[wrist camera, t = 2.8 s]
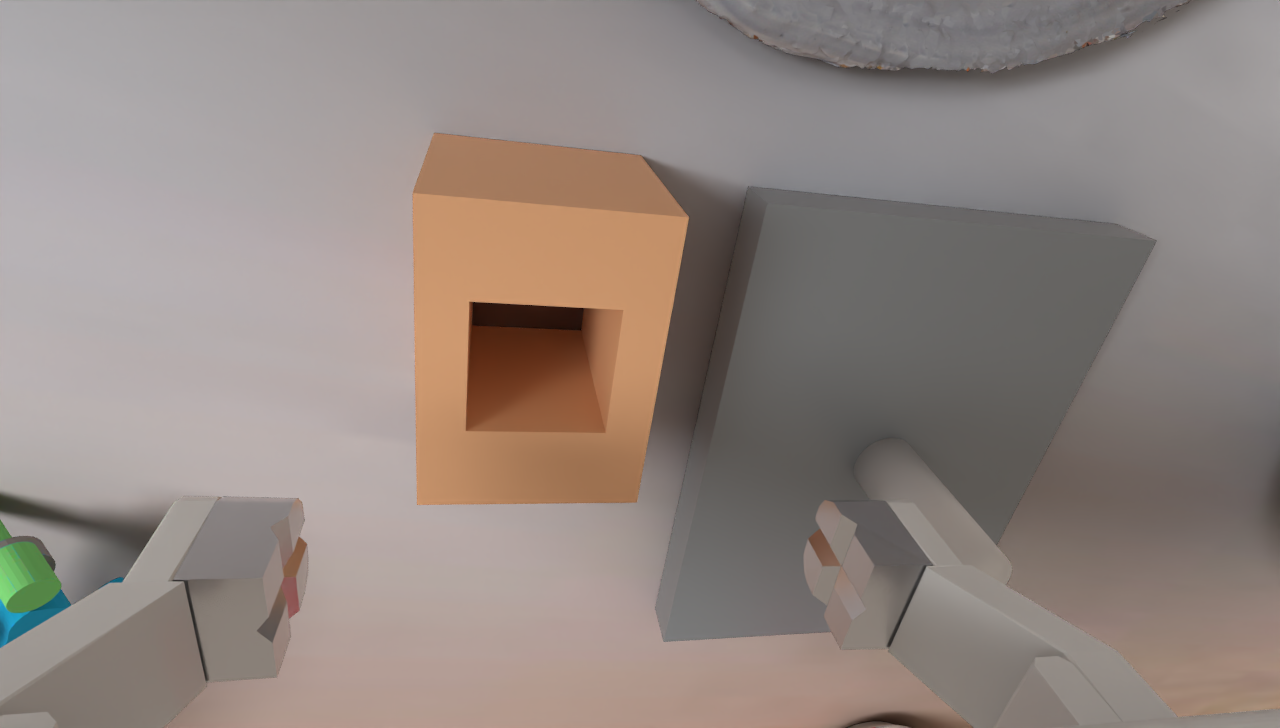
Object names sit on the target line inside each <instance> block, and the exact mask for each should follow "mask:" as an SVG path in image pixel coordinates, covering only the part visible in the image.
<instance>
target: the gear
mask: <svg viewBox="0 0 1280 728" xmlns="http://www.w3.org/2000/svg"><path fill="white" fill-rule="evenodd" d="M54 570H55V561H54V559H53V558H52V556H51V555H50V553H49V552H48V550H47V549H46V547H45V546H44V544H43V543H42V541H41V540H39V539H38V538H35V537H31V536H19V537H11V535H10V534H9V532H8V531H7V529H6V528H5V526H4V525H3V523H2V522H1V520H0V648H1V647H3V646H4V645H6V644H8V643H9V642H11V641H13V640H14V639H16V638H18V637H20V636H21V635H23V634H25V633H26V632H28V631H30V630H31V629H33V628H35V627H36V626H38V625H40V624H41V623H43V622H45V621H46V620H48V619H50V618H51V617H53V616H55V615H56V614H58V613H60V612H61V611H63V610H65V609H66V608H68V607H70V606H71V604H70V602H69V601H68V599H67V598H66V596H65V595H64V593H63V592H62V590H61V583H60V581H59V579H58V578H57V576H56V575H55V573H54ZM123 580H124V578H122V577H119V578H117V579H114V580H112V581H110V582H108V583H122V582H123ZM108 583H106V584H105V585H107V584H108ZM105 585H103V586H105ZM103 586H102V587H103ZM102 587H100V588H102ZM100 588H99V589H100Z"/></svg>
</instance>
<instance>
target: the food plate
mask: <svg viewBox="0 0 1280 728" xmlns="http://www.w3.org/2000/svg"><path fill="white" fill-rule="evenodd" d="M696 1H698V2H699V4H700V5H701V6H702V7H704V8H705V9H707V10H708V11H709V12H711V13H713V14H715V15H717V16H719V18H720V19H722V18H723V19H726V20H727V21H728V22H729V23H730V24H731V25H732V26H733V27H735V28H736V29H739V30H740V31H741V32H742V33H744V34H745V35H746V36H748V37H749V38H751V39H759V41H764V42H763V43H764V44H766V45H768V46H771V47H773V48H774V49H781V50H782V51H783V52H785V53H789V54H792V55H800V56H805V57H810V58H817V59H820V60H822V61H824V62H827V63H829V64H831V65H834V66H836V67H839V66H841V67H843V68H845V67H846V68H849V67H854V66H857V65H858V66H859V67H860V68H862V69H863V68H864V67H865V66H866V67H867V68H868V70H869V69H871V68H872V69H875V68H876V67H877V68H878V69H880V70H881V69H888V70H900V69H902V68H904V67H907V68H910V69H913V68H922V67H923V68H926V69H929V68H930V67H932V70H933V69H934V68H936V69H937V71H938V70H941V69H944V70H957V71H960V70H961V69H964V70H966V71H969V70H970V69H972V68H973V69H974V70H975V69H976V68H980V69H982V70H981V72H985V71H990V73H991V74H992V73H995V72H997V71H998V70H1000V69H1004V68H1005V67H1007V68H1008V70H1010V69H1012V68H1014V67H1016V66H1018V67H1020V65H1021V63H1023V65H1026V64H1037V63H1039V62H1041V61H1044V60H1046V59H1050V58H1054V57H1057V56H1062V55H1064V54H1066V53H1068V54H1069V53H1073V52H1074V51H1075V50H1079V49H1080V48H1084V47H1085V46H1089V45H1092V44H1097V43H1103V42H1102V41H1104V42H1106V41H1110V40H1113V39H1117V38H1121V37H1124V36H1127V37H1126V38H1129V37H1130V36H1131V35H1132V34H1131V33H1133V32H1135V31H1133V32H1129V33H1128V31H1130V30H1133V29H1135V28H1136V27H1137V26H1138V25H1139V24H1141V23H1143V22H1144V21H1148V22H1150V21H1151V20H1152V18H1159V17H1162V16H1163V17H1165V16H1164V12H1165V11H1166V10H1169V9H1171V8H1173V7H1178V6H1181V5H1183V4H1187V3H1188V2H1189V1H1190V0H696ZM1178 11H1179V10H1178ZM1176 12H1177V11H1176ZM1165 18H1167V17H1165ZM1165 18H1164V19H1165ZM1161 20H1163V19H1161ZM1159 21H1160V20H1159ZM1157 22H1158V21H1157ZM1154 24H1155V23H1154ZM1123 33H1125V34H1123Z"/></svg>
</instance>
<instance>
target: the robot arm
mask: <svg viewBox="0 0 1280 728" xmlns="http://www.w3.org/2000/svg"><path fill="white" fill-rule="evenodd" d="M815 520H816V522H817V524H818V526H819V528H820V529H819V530H818V531H816V532H815V533H814V534H813V535H812V536H811V537H810V538H808V540H807V544H806V547H805V551H804V554H803V556H804V573H805V577H806V581H807V584H808V586H809V588H810V590H811V592H812V594H813V596H815V597H816V598H817V599H819V600H820V601H821V602H823V603H824V604H825V605H827V606H826V610H825V613H824V618H825V620H826V622H827V624H828V626H829V628H830V630H831V632H832V634H833V636H834V638H835V640H836V642H837V644H838V646H839V648H840V650H852V649H889V650H888V652H889V653H891V654H892V655H893V656H894V657H895V658H896V659H897V660H898V661H899V662H901V663H902V664H903V665H904V666H905V667H906V668H907V669H908V670H910V671H911V672H912V673H913V674H914V675H915V676H916V677H917V678H918V679H920V680H921V681H922V682H923V683H924V684H925V685H926V686H927V687H929V688H930V689H931V690H932V691H933V692H934V693H935V694H936V695H938V696H939V697H940V698H941V699H942V700H943V701H944V702H945V703H946V704H948V705H949V706H950V707H951V708H952V709H953V710H954V711H955V712H957V713H958V714H959V715H960V716H961V717H962V718H963V719H964V720H966V721H967V722H968V723H969V724H970V725H971V726H972V727H973V728H1280V709H1270V710H1258V711H1246V712H1234V713H1222V714H1210V715H1198V716H1185V717H1177V715H1176V714H1175V713H1174V712H1173V711H1172V710H1171V709H1170V708H1169V707H1168V706H1167V705H1166V703H1165V702H1164V701H1163V700H1162V699H1161V698H1160V697H1159V696H1158V695H1157V694H1156V693H1155V691H1154V690H1153V689H1152V688H1151V687H1150V686H1149V685H1148V684H1147V683H1146V682H1145V681H1144V679H1143V678H1142V677H1141V676H1140V675H1139V674H1138V673H1137V672H1136V671H1135V670H1134V668H1133V667H1132V666H1131V665H1130V664H1129V663H1128V662H1127V661H1126V660H1125V659H1124V658H1123V656H1122V655H1121V654H1120V653H1119V652H1118V651H1116V650H1115V649H1113V648H1111V647H1110V646H1108V645H1106V644H1105V643H1103V642H1101V641H1099V640H1098V639H1096V638H1094V637H1093V636H1091V635H1089V634H1088V633H1086V632H1084V631H1082V630H1081V629H1079V628H1077V627H1076V626H1074V625H1072V624H1071V623H1069V622H1067V621H1065V620H1064V619H1062V618H1060V617H1059V616H1057V615H1055V614H1054V613H1052V612H1050V611H1048V610H1047V609H1045V608H1043V607H1042V606H1040V605H1038V604H1037V603H1035V602H1033V601H1031V600H1030V599H1028V598H1026V597H1025V596H1023V595H1021V594H1020V593H1018V592H1016V591H1014V590H1013V589H1011V588H1009V587H1008V586H1006V585H1004V584H1003V583H1001V582H999V581H997V580H996V579H994V578H992V577H991V576H989V575H987V574H986V573H984V572H982V571H980V570H979V569H977V568H975V567H974V566H972V565H963V564H962V563H961V562H960V560H959V559H958V558H957V557H956V555H955V554H954V553H953V552H952V550H951V549H950V548H949V547H948V545H947V544H946V543H945V542H944V540H943V539H942V538H941V537H940V535H939V534H938V533H937V531H936V530H935V529H934V528H933V526H932V525H931V524H930V523H929V521H928V520H927V519H926V518H925V516H924V515H923V514H922V513H921V511H920V510H919V509H918V508H917V506H916V505H915V504H914V503H913V502H911V501H909V500H908V499H879V500H825V501H824V502H823V503H822V504H821V505H820V506H819V508H818V511H817V514H816V517H815ZM304 521H305V519H304V512H303V505H302V502H301V501H300V500H299V499H298V498H269V497H227V496H223V497H203V496H183V497H181V498H180V499H178V500H176V501H175V502H174V503H173V504H172V506H171V507H170V509H169V510H168V512H167V514H166V515H165V517H164V518H163V520H162V521H161V523H160V524H159V526H158V528H157V529H156V531H155V532H154V534H153V535H152V537H151V538H150V540H149V542H148V543H147V545H146V546H145V548H144V549H143V551H142V552H141V554H140V555H139V557H138V559H137V560H136V562H135V563H134V565H133V566H132V568H131V569H130V571H129V573H128V574H127V576H126V577H125V579H124V580H123V582H122V583H108V584H107V585H105V586H103V587H102V588H100V589H98V590H97V591H95V592H93V593H92V594H90V595H88V596H87V597H85V598H83V599H82V600H80V601H78V602H77V603H75V604H73V605H71V606H70V607H68V608H66V609H65V610H63V611H61V612H60V613H58V614H56V615H55V616H53V617H51V618H50V619H48V620H46V621H45V622H43V623H41V624H40V625H38V626H36V627H35V628H33V629H31V630H30V631H28V632H26V633H25V634H23V635H21V636H20V637H18V638H16V639H14V640H13V641H11V642H9V643H8V644H6V645H4V646H3V647H1V648H0V728H164V727H165V726H166V725H167V724H168V723H169V722H170V721H171V720H172V719H173V718H174V717H175V716H176V715H178V714H179V713H180V712H181V711H182V710H183V709H184V708H185V707H186V706H187V705H188V704H189V703H190V702H191V701H192V700H193V699H194V698H195V697H196V696H197V695H198V694H199V693H200V692H201V691H202V690H203V689H205V688H206V687H207V685H206V683H207V682H221V681H234V680H247V679H261V678H274V677H277V676H278V673H279V670H280V668H281V665H282V662H283V659H284V656H285V653H286V650H287V647H288V644H289V641H290V638H291V632H290V623H289V618H291V617H292V616H293V615H294V614H295V613H297V612H298V611H299V610H300V607H301V604H302V600H303V597H304V594H305V588H306V582H307V576H308V547H307V543H306V542H304V541H303V540H302V539H301V538H300V537H299V535H300V532H301V529H302V526H303V524H304Z"/></svg>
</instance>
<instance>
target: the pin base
mask: <svg viewBox="0 0 1280 728" xmlns="http://www.w3.org/2000/svg"><path fill="white" fill-rule="evenodd" d="M1155 243H1156V240H1154V239H1151V238H1149V237H1147V236H1144V235H1142V234H1139V233H1137V232H1135V231H1132V230H1130V229H1127V228H1125V227H1123V226H1120V225H1118V224H1112V223H1102V222H1092V221H1082V220H1073V219H1063V218H1053V217H1043V216H1033V215H1023V214H1014V213H1004V212H994V211H984V210H974V209H964V208H955V207H945V206H935V205H925V204H915V203H905V202H896V201H886V200H876V199H866V198H856V197H846V196H837V195H827V194H817V193H807V192H797V191H787V190H778V189H768V188H758V187H748V190H747V194H746V199H745V204H744V208H743V213H742V217H741V222H740V226H739V231H738V235H737V240H736V244H735V249H734V253H733V258H732V262H731V267H730V272H729V276H728V281H727V285H726V290H725V294H724V299H723V303H722V308H721V312H720V317H719V321H718V326H717V330H716V335H715V339H714V344H713V349H712V353H711V358H710V362H709V367H708V371H707V376H706V380H705V385H704V389H703V394H702V398H701V403H700V407H699V412H698V417H697V421H696V426H695V430H694V435H693V439H692V444H691V448H690V453H689V457H688V462H687V466H686V471H685V475H684V480H683V484H682V489H681V494H680V498H679V503H678V507H677V512H676V516H675V521H674V525H673V530H672V534H671V539H670V543H669V548H668V552H667V557H666V562H665V566H664V571H663V575H662V580H661V584H660V589H659V593H658V598H657V602H656V607H655V610H656V614H657V618H658V622H659V626H660V629H661V633H662V637H663V641H664V642H668V641H685V640H702V639H719V638H736V637H753V636H770V635H787V634H804V633H821V632H831V630H830V628H829V626H828V624H827V622H826V620H825V618H824V613H825V610H826V606H827V605H825V604H824V603H823V602H821V601H820V600H819V599H817V598H816V597H815V596H813V594H812V592H811V590H810V588H809V586H808V584H807V581H806V577H805V573H804V556H803V554H804V551H805V547H806V544H807V540H808V538H810V537H811V536H812V535H813V534H814V533H815V532H816V531H818V530H819V529H820V528H819V526H818V524H817V522H816V520H815V517H816V514H817V511H818V508H819V506H820V505H821V504H822V503H823V502H824V501H825V500H879V499H908V500H909V501H911V502H913V503H914V504H915V505H916V506H917V508H918V509H919V510H920V511H921V513H922V514H923V515H924V516H925V518H926V519H927V520H928V521H929V523H930V524H931V525H932V526H933V528H934V529H935V530H936V531H937V533H938V534H939V535H940V537H941V538H942V539H943V540H944V542H945V543H946V544H947V545H948V547H949V548H950V549H951V550H952V552H953V553H954V554H955V555H956V557H957V558H958V559H959V560H960V562H961V563H962V564H963V565H972V566H974V567H975V568H977V569H979V570H980V571H982V572H984V573H986V574H987V575H989V576H991V577H992V578H994V579H996V580H997V581H999V582H1001V583H1003V584H1004V585H1006V584H1007V583H1008V581H1009V579H1010V577H1011V574H1012V565H1011V562H1010V561H1009V559H1008V558H1007V557H1006V556H1005V555H1004V554H1003V553H1002V551H1001V550H1000V549H999V548H998V547H997V546H996V545H997V543H998V542H999V540H1000V538H1001V536H1002V534H1003V532H1004V530H1005V528H1006V526H1007V524H1008V523H1009V521H1010V519H1011V517H1012V515H1013V513H1014V511H1015V509H1016V507H1017V505H1018V504H1019V502H1020V500H1021V498H1022V496H1023V494H1024V492H1025V490H1026V488H1027V486H1028V485H1029V483H1030V481H1031V479H1032V477H1033V475H1034V473H1035V471H1036V469H1037V467H1038V466H1039V464H1040V462H1041V460H1042V458H1043V456H1044V454H1045V452H1046V450H1047V448H1048V447H1049V445H1050V443H1051V441H1052V439H1053V437H1054V435H1055V433H1056V431H1057V429H1058V428H1059V426H1060V424H1061V422H1062V420H1063V418H1064V416H1065V414H1066V412H1067V410H1068V409H1069V407H1070V405H1071V403H1072V401H1073V399H1074V397H1075V395H1076V393H1077V391H1078V390H1079V388H1080V386H1081V384H1082V382H1083V380H1084V378H1085V376H1086V374H1087V372H1088V371H1089V369H1090V367H1091V365H1092V363H1093V361H1094V359H1095V357H1096V355H1097V353H1098V352H1099V350H1100V348H1101V346H1102V344H1103V342H1104V340H1105V338H1106V336H1107V334H1108V333H1109V331H1110V329H1111V327H1112V325H1113V323H1114V321H1115V319H1116V317H1117V315H1118V314H1119V312H1120V310H1121V308H1122V306H1123V304H1124V302H1125V300H1126V298H1127V296H1128V295H1129V293H1130V291H1131V289H1132V287H1133V285H1134V283H1135V281H1136V279H1137V277H1138V276H1139V274H1140V272H1141V270H1142V268H1143V266H1144V264H1145V262H1146V260H1147V258H1148V257H1149V255H1150V253H1151V251H1152V249H1153V247H1154V245H1155Z"/></svg>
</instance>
